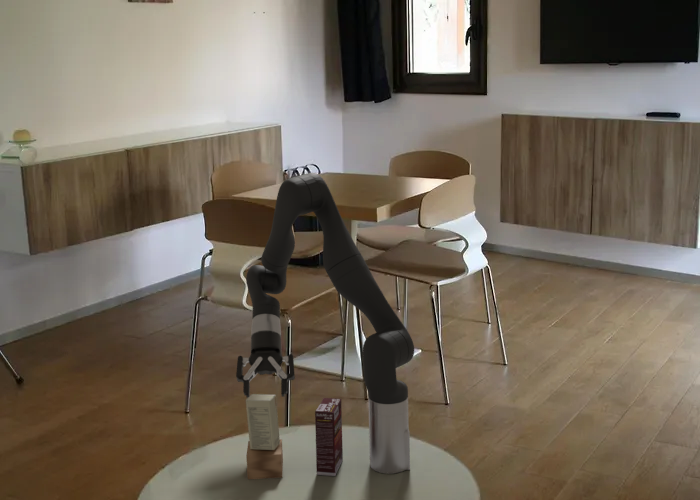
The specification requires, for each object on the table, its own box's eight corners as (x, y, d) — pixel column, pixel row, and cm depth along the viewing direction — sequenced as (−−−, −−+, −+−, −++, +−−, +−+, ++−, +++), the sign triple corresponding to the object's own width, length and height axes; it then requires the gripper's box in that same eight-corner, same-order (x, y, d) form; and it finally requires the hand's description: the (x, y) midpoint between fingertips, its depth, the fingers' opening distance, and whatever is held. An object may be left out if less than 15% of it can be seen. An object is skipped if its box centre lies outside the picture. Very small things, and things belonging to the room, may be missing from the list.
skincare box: (280, 443, 206) (277, 394, 204) (274, 451, 202) (271, 400, 200) (254, 442, 208) (251, 392, 206) (248, 449, 204) (245, 399, 202)
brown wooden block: (283, 462, 210) (281, 439, 209) (282, 478, 203) (281, 454, 201) (249, 464, 210) (248, 440, 209) (247, 479, 202) (246, 456, 201)
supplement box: (336, 476, 202) (334, 412, 199) (316, 475, 203) (313, 411, 200) (344, 460, 210) (342, 398, 207) (324, 458, 211) (322, 397, 208)
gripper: (236, 330, 218) (234, 391, 209) (293, 328, 218) (294, 388, 210) (239, 343, 224) (237, 403, 216) (294, 341, 225) (295, 400, 216)
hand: (265, 396), depth 213 cm, fingers open, 8 cm apart
